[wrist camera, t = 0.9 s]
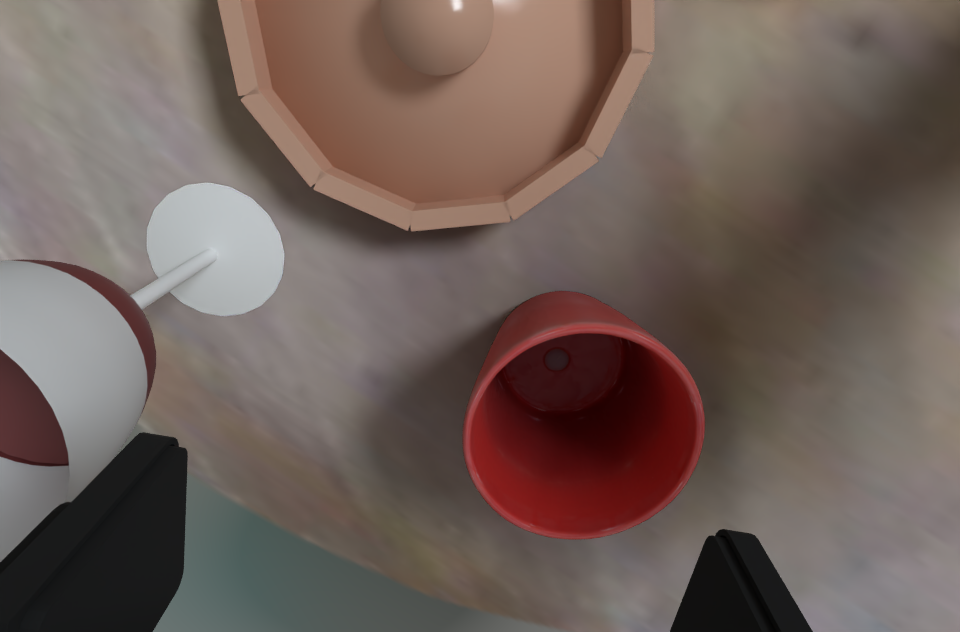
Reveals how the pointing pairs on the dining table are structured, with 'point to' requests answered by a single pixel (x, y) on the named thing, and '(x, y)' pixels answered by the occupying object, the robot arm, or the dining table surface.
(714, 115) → the dining table surface
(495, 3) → the groove dish
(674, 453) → the flower pot
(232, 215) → the wineglass
